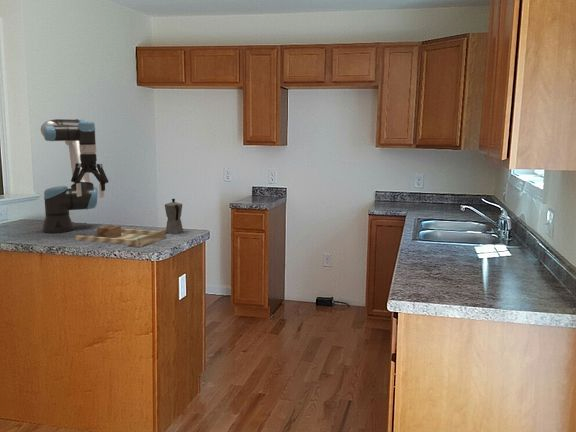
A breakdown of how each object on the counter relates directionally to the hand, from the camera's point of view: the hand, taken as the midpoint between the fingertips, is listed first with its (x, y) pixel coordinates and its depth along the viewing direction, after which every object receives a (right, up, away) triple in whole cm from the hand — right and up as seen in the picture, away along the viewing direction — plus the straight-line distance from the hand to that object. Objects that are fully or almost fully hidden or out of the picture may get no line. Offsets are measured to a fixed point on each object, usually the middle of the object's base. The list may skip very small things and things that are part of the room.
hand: (90, 196), depth 264 cm
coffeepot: (+38, -18, +16) cm, 46 cm away
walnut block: (+9, -20, 0) cm, 22 cm away
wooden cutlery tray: (+16, -21, -2) cm, 27 cm away
